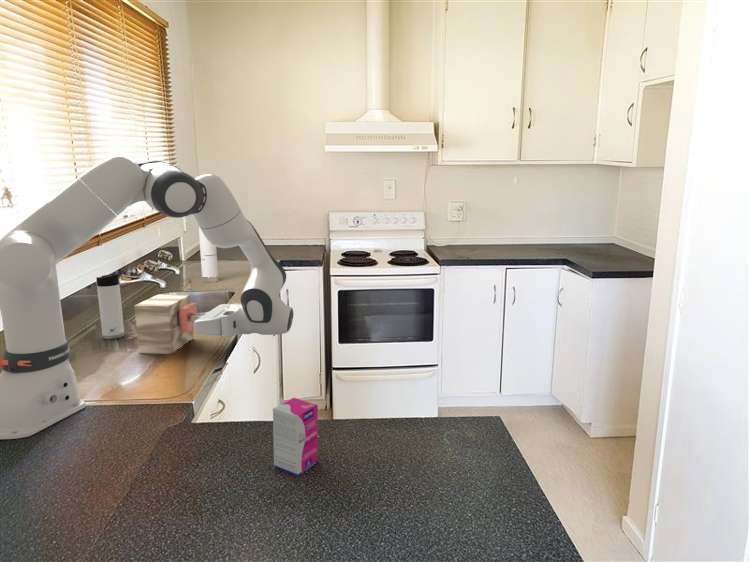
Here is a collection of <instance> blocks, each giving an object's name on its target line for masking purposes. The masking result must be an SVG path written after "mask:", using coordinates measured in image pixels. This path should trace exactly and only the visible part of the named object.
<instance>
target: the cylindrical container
mask: <svg viewBox="0 0 749 562" xmlns="http://www.w3.org/2000/svg"><path fill="white" fill-rule="evenodd" d="M198 235H199V236H198V237H199V252H200V253H199V255H200V266H201V267H200V268H201V278H202V277H208V278H209V277H216V276H218V277H219V271H218V270H219V269H218V267H219V266H218V255H217V247H216V246H214V245H212V244H211V243H210V242H209V241H208V240H207V238H206V237H205V236H204V234H203V232H202V230H201V228H200V226H199V227H198Z"/></svg>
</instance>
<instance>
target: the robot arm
mask: <svg viewBox="0 0 749 562" xmlns="http://www.w3.org/2000/svg"><path fill="white" fill-rule="evenodd" d="M139 202H146V204H147V205H148V206H149V207H150V208H152V209H153V210H155V211H157V212H158V213H160V214H162V215H164V216H166V217H169V218H175V219H177V218H184V217H188V216H192V215H193V217H194V218H195V221H196V222H197V224H198V226H199V227H200V228H201V230H202V232H203V234H204V236H205V237H206V238H207V240H208V241H209V242H210V243H211V244H212V245H214V246H216V248H221V249H230V248H234V247H237V246H238V247H239V248H240V249H241V250H242V252H243V254H244V256H245V257H246V258H247V260H248V262H249V263H250V267H251V268H250V275H249V277H248V280H247V281H246V284H245V285H244V287H243V290H242V292H241V294H240V303H236V302H235V303H232V304H230V303H221V304H219V305H217V306H216V307H214V308H212V309H211V310H209V311H205V312H200V313H199V312H197V313H195V314H194V315H192V316H190V321H191V322H194V328H193V330H194V331H193V333H195V334H197V335H201V336H202V335H203V336H213V337H214V336H215V337H217V336H222V338H224V339H225V338H226V339H227V338H229V339H230V338H232V337H234V336H238V335H239V336H240V335H252V334H258V335H262V336H278V335H283V334H287V333H288V332H289V331H290V330H291V327H292V324H293V320H294V309H293V307H291V306H289V305H287V304H286V303H284V301H283V300H282V299H281V297H280V293H281V290H282V289H283V288H284V285H285V283H286V281H287V273H286V271H285V269H284V267H283V265H281V263H279V262H278V261H277V259H275V257H274V256H273V255H272V254H271V252H270V251H269V249H268V248H267V246H266V244H265V242H264V241H263V239H262V238H261V236H260V234H259V232H258V231H257V229H256V228H255V227H254V225H253V224H252V223H251V222H250V221H249V219H247V218H246V216H245V215H244V213H243V211H242V209H241V208H240V205H239V202H238V201H237V200H236V198H235V196H234V195H233V193H232V192H231V190H230V188H229V187H228V186H227V184H226V183H225V181H224V180H223V179H222V178H221V177H220V176H218V175H216V174H211V173H206V174H205V173H204V174H200V175H199V176H197V177H195V178H194V176H191V175H190V174H188V173H186V172H184V171H183V170H182V169H181V168H180V167H177V166H176V165H173V164H170V163H168V162H164V161H162V160H161V161H159V160H152V161H147V162H142V163H137V162H136V161H134V160H133V159H132V158H130V157H128V156H126V155H122V154H116V155H112V156H109V157H108V158H106V159H104V160H101V161H100V162H99V163H96V164H95V165H94V166H92V167H91V168H89V169H88V170H86V171H85V172H83V173H82V174H81V175H80V176H79V177H78V178H76V179H75V180H73V181H72V182H71V183H69V184H68V185H67V186H66V187H64V189H62V190H61V191H60V192H59V193H58V194H56V195H55V196H54V197H52V198H51V199H50V200H49V201H48V202H46V203H45V204H44V205H42V206H41V207H39V208H38V209H37V210H36V211H34V212H33V213H32V214H30V215H29V216H28V217H27V218H25V219H24V220H22V221H21V222H20V223H19V224H18V225H16V226H15V227H14V228H13V229H12V230H10V231H9V232H8V233H7V234H5V235H4V236H3V237H2V238H1V239H0V316H1V320H2V321H1V322H2V328H3V334H4V340H5V341H4V342H5V348H6V349H5V350H4V352H3V353H4V354H3V357H1V358H0V369H1V370H2V371H1V372H0V440H13V439H14V440H15V439H22V438H28V437H30V436H32V435H35V434H36V433H39V432H40V431H42V430H44V429H46V428H48V427H50V426H53V425H54V424H56V423H58V422H59V421H61V420H64V419H65V418H67V417H69V416H71V415H73V414H75V413H78V412H79V411H81V410H83V409H85V408H86V406H87V405H86V402H85V400H84V399H82V397H81V393H80V388H79V385H78V381H77V380H78V379H77V377H76V372H75V370H74V369H73V367H72V365H71V363H70V361H69V358H70V346H69V341H68V340H67V339H66V335H65V333H66V332H65V327H64V318H63V317H64V316H63V310H62V304H61V303H62V302H61V297H60V290H59V289H60V288H59V281H58V272H57V265H58V264H59V263H60V262H62V261H63V260H64V259H65V258H67V257H68V256H69V255H70V254H72V253H73V252H74V251H75V250H77V249H79V248H80V247H82V246H83V245H84V244H86V243H87V242H89V241H90V240H92V239H93V238H95V236H96V235H97V234H98V233H100V232H101V231H102V230H103V229H104V228H105V227H107V226H108V225H109V224H110V223H112V222H113V221H114V220H115V219H116V218H117V217H118V216H119V215H121V214H122V213H123V212H124V211H125V210H126V209H127V208H128V207H130V206H132V205H134V204H136V203H139Z"/></svg>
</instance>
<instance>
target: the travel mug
mask: <svg viewBox="0 0 749 562" xmlns="http://www.w3.org/2000/svg"><path fill="white" fill-rule="evenodd" d="M119 278H120V277H119V273H111V274H105V275H101V276H100V277H96V287H97V288H96V289H97V298H98V307H99V316H100V325H101V335H102V338H103V339H105V340H114V339H119V338H123V337H124V336H125V325H124V317H123V308H122V306H123V305H122V298H121V297H122V296H121V287H120V280H119Z"/></svg>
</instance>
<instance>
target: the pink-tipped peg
mask: <svg viewBox="0 0 749 562" xmlns="http://www.w3.org/2000/svg"><path fill="white" fill-rule="evenodd" d="M195 313H198V307H197V302H191V303H188V304H187V305H185V306H183V307H181V308H179V311H178V312H177V318H178V324H180V325H181V332H189V331H190V330H192V329H193V330H194V322H191V321H190V316H192V315H194V314H195Z"/></svg>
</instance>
